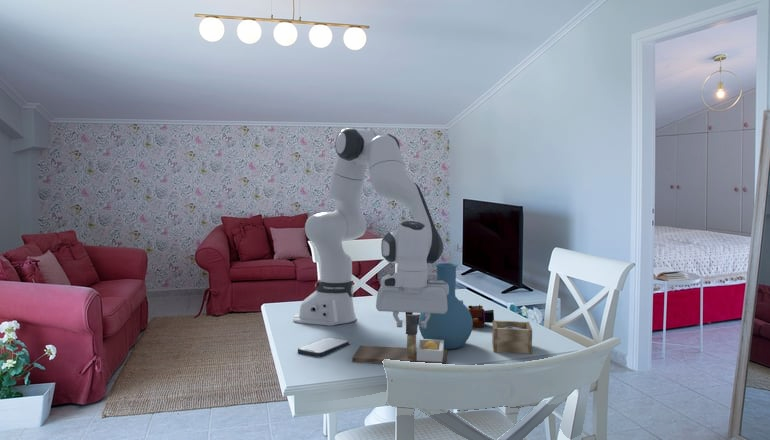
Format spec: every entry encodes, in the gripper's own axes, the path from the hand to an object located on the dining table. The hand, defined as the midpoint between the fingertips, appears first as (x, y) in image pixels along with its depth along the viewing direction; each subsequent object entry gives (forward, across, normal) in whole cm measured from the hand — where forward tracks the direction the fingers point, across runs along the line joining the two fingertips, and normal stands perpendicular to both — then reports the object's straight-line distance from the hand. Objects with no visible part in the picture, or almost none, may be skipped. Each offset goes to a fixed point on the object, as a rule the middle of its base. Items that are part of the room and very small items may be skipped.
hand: (411, 327), depth 166 cm
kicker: (+8, 0, 0) cm, 8 cm away
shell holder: (+9, -29, -15) cm, 34 cm away
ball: (+6, -6, 0) cm, 8 cm away
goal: (+8, -5, 0) cm, 9 cm away
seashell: (+9, -29, -15) cm, 34 cm away
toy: (+10, -10, -41) cm, 43 cm away
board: (+9, +3, 0) cm, 9 cm away
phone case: (+10, +27, -5) cm, 29 cm away
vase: (+9, -9, -15) cm, 20 cm away
